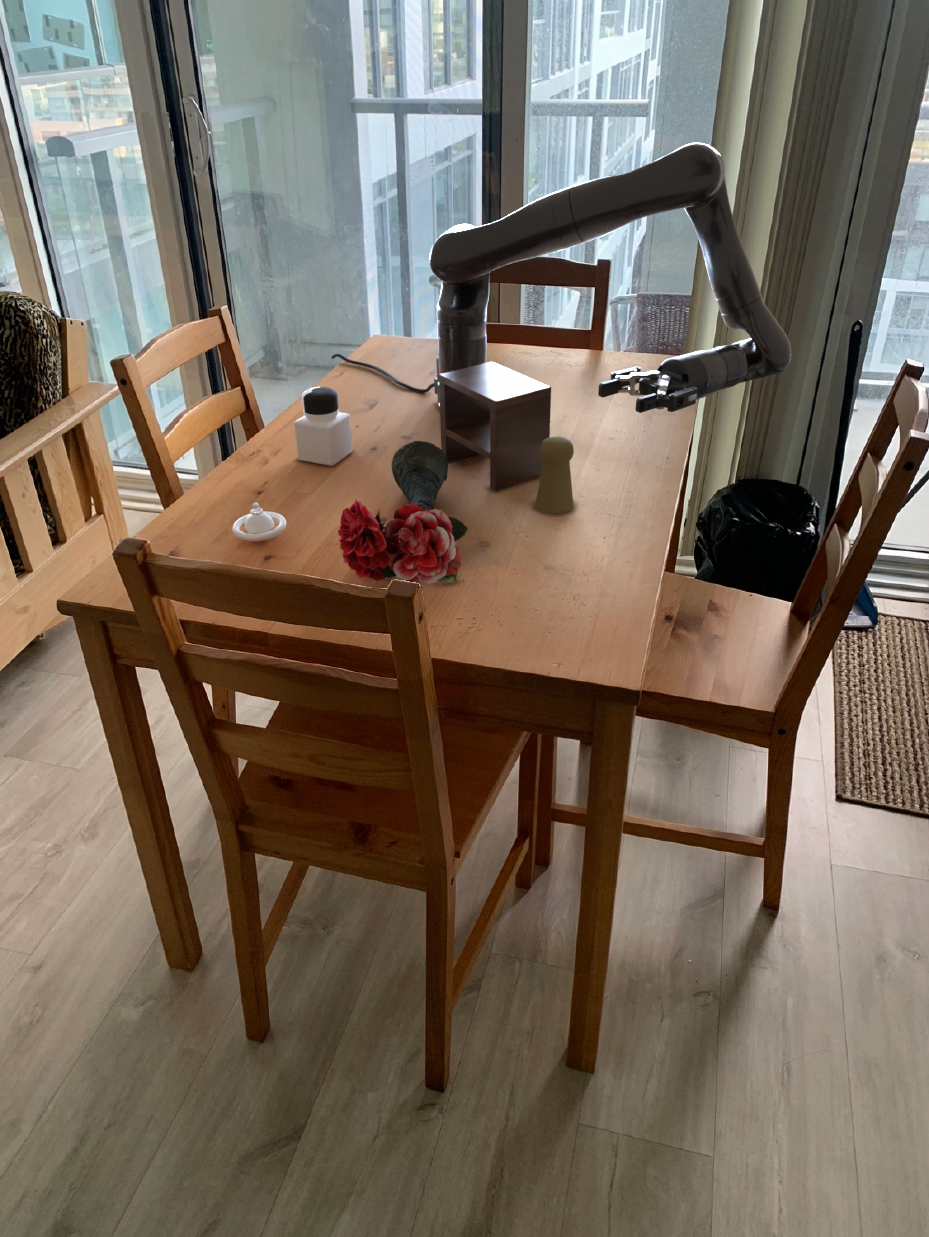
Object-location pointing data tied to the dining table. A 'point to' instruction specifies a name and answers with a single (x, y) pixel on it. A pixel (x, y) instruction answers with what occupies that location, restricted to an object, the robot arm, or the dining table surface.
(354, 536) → the carnation
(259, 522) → the ring around a ball
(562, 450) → the cork
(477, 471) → the dining table surface
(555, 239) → the robot arm
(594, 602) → the dining table surface
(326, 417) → the medicine bottle
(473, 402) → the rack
